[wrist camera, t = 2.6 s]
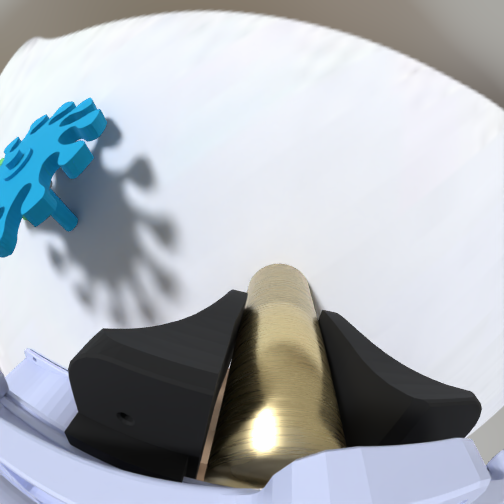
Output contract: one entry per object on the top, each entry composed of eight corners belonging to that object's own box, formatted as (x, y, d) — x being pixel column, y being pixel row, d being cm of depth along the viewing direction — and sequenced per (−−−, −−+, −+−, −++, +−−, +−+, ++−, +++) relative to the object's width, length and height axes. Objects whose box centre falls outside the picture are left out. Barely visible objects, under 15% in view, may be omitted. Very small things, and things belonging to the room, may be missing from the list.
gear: (133, 71, 10) (-2, 264, 6) (169, 157, 15) (100, 326, 11) (17, 116, 12) (-63, 239, 8) (54, 169, 17) (-4, 283, 13)
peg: (242, 312, 14) (197, 499, 5) (255, 257, 13) (213, 443, 4) (299, 324, 14) (317, 512, 5) (316, 271, 13) (378, 458, 4)
